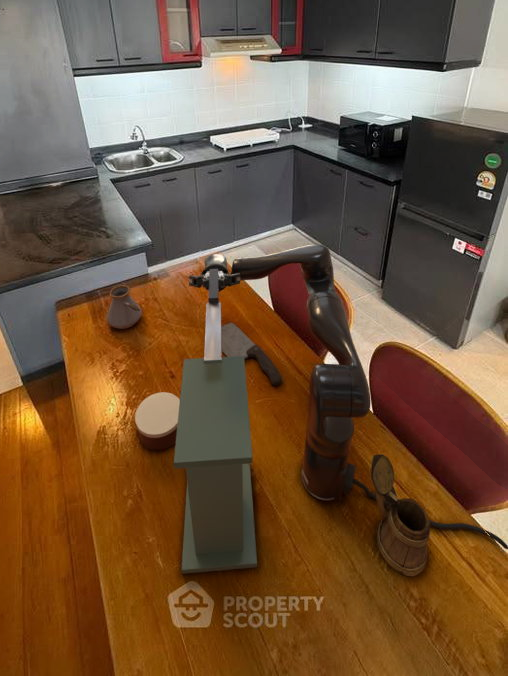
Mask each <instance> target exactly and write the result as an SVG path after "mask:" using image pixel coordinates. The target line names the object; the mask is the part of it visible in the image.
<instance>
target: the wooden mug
mask: <svg viewBox="0 0 508 676" xmlns="http://www.w3.org/2000/svg"><path fill="white" fill-rule="evenodd" d="M370 479H371V482H372V484H373V487H374V489H375V491H376V493H375V495H376V500H377V501H376V500H375V501H376V503H377V507H378V509H379V512H380V515H381V521H380V523H378V526H377V531H376V543H377V548H378V551H379V552H380V554H381V556H382V558H383V560H384V561H385V562H386V563H387V564H388V565H389V566H390V567H391V568H392V569H393V570H395V571H397V573H400V574H401V575H404V576H406V577H416V576H418V575H419V574H420V573H422V572H423V571H424V569H425V567H426V564H427V559H428V550H427V548H428V541H429V539H430V536H431V526H430V523H429V520H430V519H429V515H428V513H427V511H426V509H425V508H424V507H423V506H422V505H421V504H420V503H419V502H418V501H416V499H412V498H410V497H409V498H408V497H407V498H404V497H403V498H399V497H398V495H397V492H396V489H395V487H394V485H395V484H394V483H395V470H394V467H393V464H392V462H391V461H390V459H389V458H388V456H387V455H385V454H381V453H380V454H373V456H372V459H371V464H370ZM384 501H386V503H387V505H386V504H385V502H384Z"/></svg>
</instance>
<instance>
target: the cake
mask: <svg viewBox="0 0 508 676" xmlns="http://www.w3.org/2000/svg"><path fill="white" fill-rule="evenodd" d="M179 404H180V397H178V396H177V395H175V394H173V393H171V392H168V391H167V392H166V391H161V392H155V393H153V394H150V395H148V396H147V397H146V398H144V399H143V400H142V401H141V402H140V404H139V405H138V407H137V408H136V411H135V414H134V415H135V416H134V421H135V425H136V428H137V432H138V437H139V440H140V443H141V444H142V445H143V446H144V447H145V448H146V449H149V450H151V451H162V450H166V449H169V448H170V447H172V446H173V445H174V444H176V434H177V424H178V414H179Z"/></svg>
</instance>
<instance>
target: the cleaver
mask: <svg viewBox="0 0 508 676" xmlns="http://www.w3.org/2000/svg"><path fill="white" fill-rule="evenodd" d="M221 343H222V354H224V355H225V357H234V356H244V360H247V359H248V358H249V359H250V358H254V359H256V360H257V362H258V365H259V368H260V369H261V371H262V372H263V373H264V374H265V375H267V377H268V378H269V381H270V383H271V385H272V386H273V387H277V386H279V385H281V384H282V383H283V377H282V375H281V373H280V371H279V370H278V369H277V367H276V365H275V364H274V363H273V361H272V360H271V359H270V357H269V356H268V354H267V353H266V352H265V351H264V350H263V349H262V348H261V346H259V345H258V344H255V343H254V342H253V341H252V340H251V338H249V337H248V336H247V335H246V334H245V333H244V331H243V330H241V329H240V328H239V326H237V325H236V324H235V323H234V322H231V321H230V322H229V323H226V324H224V325H221Z"/></svg>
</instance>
